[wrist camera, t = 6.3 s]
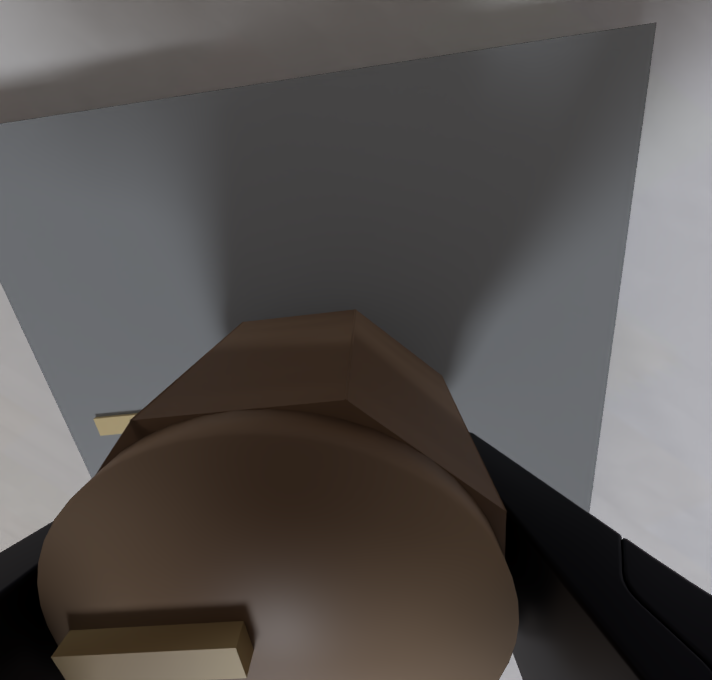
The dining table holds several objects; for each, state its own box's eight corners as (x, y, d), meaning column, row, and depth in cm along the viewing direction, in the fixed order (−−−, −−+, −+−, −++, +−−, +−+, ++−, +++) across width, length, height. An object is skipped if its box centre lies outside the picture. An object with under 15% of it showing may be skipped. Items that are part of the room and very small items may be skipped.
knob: (438, 299, 8) (546, 425, 3) (448, 518, 10) (520, 784, 5) (165, 330, 8) (-96, 480, 3) (230, 533, 10) (120, 793, 6)
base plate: (621, 44, 8) (851, -106, 4) (564, 554, 13) (643, 687, 10) (-23, 142, 9) (-304, 91, 5) (164, 579, 14) (93, 708, 11)
